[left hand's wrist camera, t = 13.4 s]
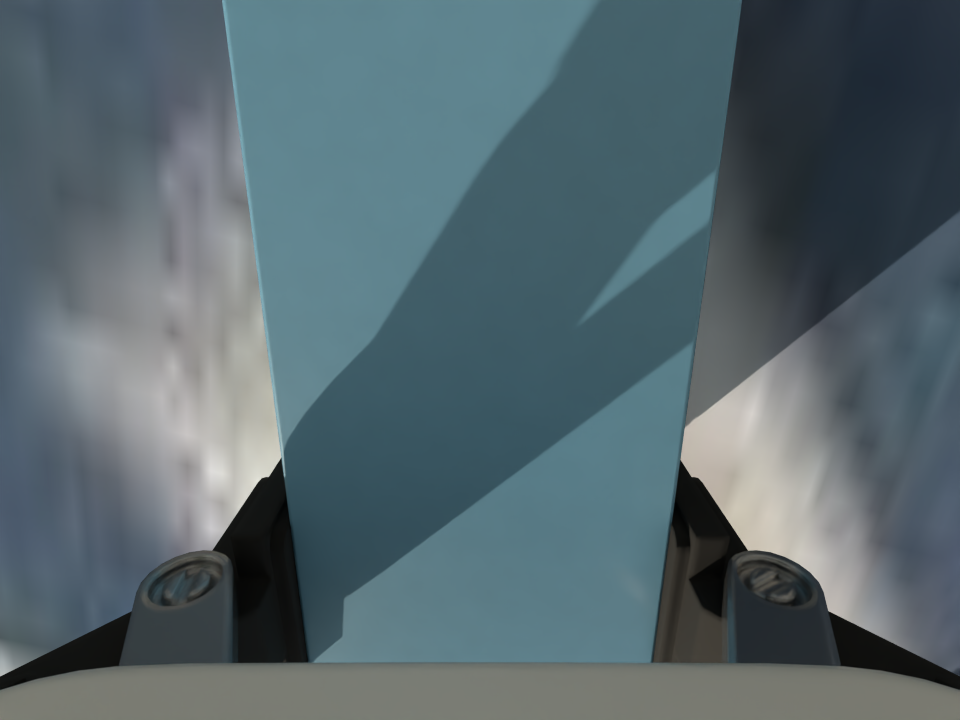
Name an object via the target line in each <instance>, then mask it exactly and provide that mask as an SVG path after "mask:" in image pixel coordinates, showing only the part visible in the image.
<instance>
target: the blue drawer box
mask: <svg viewBox="0 0 960 720" xmlns="http://www.w3.org/2000/svg"><path fill="white" fill-rule="evenodd" d="M222 2H223V10H224V18H225V25H226V33H227V41H228V49H229V56H230V64H231V72H232V79H233V87H234V95H235V102H236V110H237V118H238V126H239V133H240V141H241V149H242V156H243V164H244V172H245V180H246V187H247V195H248V203H249V210H250V218H251V226H252V234H253V241H254V249H255V257H256V264H257V272H258V280H259V287H260V295H261V303H262V311H263V318H264V326H265V334H266V341H267V349H268V357H269V365H270V372H271V380H272V388H273V395H274V403H275V411H276V418H277V426H278V434H279V442H280V449H281V457H282V465H283V472H284V480H285V488H286V496H287V503H288V511H289V519H290V526H291V534H292V542H293V549H294V557H295V565H296V573H297V580H298V588H299V596H300V603H301V611H302V619H303V626H304V634H305V642H306V650H307V657H308V663H342V662H618V663H653V658H654V650H655V643H656V635H657V628H658V620H659V613H660V605H661V598H662V590H663V583H664V575H665V568H666V560H667V553H668V545H669V538H670V530H671V523H672V517H673V510H674V502H675V495H676V488H677V480H678V473H679V465H680V458H681V450H682V443H683V436H684V428H685V421H686V413H687V406H688V398H689V391H690V384H691V376H692V369H693V361H694V354H695V346H696V339H697V332H698V324H699V317H700V309H701V302H702V295H703V287H704V280H705V272H706V265H707V257H708V250H709V243H710V235H711V228H712V220H713V213H714V205H715V198H716V191H717V183H718V176H719V168H720V161H721V153H722V146H723V139H724V131H725V124H726V116H727V109H728V101H729V94H730V87H731V79H732V72H733V64H734V57H735V49H736V42H737V35H738V27H739V20H740V12H741V5H742V0H222Z"/></svg>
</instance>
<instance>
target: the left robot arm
mask: <svg viewBox="0 0 960 720" xmlns="http://www.w3.org/2000/svg"><path fill="white" fill-rule="evenodd" d="M0 720H960V676H958V675H956V674H954V673H952V672H950V671H948V670H946V669H944V668H942V667H940V666H938V665H935V664H933V663H931V662H929V661H927V660H925V659H923V658H921V657H919V656H917V655H915V654H913V653H911V652H909V651H907V650H905V649H903V648H901V647H899V646H897V645H895V644H893V643H891V642H889V641H887V640H885V639H883V638H881V637H879V636H877V635H875V634H873V633H871V632H869V631H867V630H865V629H863V628H861V627H859V626H857V625H855V624H853V623H851V622H849V621H847V620H845V619H843V618H841V617H839V616H837V615H835V614H833V613H831V612H829V611H828V609H827V605H826V600H825V596H824V592H823V590H822V588H821V586H820V584H819V582H818V581H817V580H816V579H815V578H814V576H813V575H812V574H811V573H810V572H809V571H807V570H806V569H804V568H803V567H802V566H800V565H799V564H797V563H795V562H794V561H792V560H790V559H788V558H786V557H783V556H780V555H777V554H774V553H771V552H764V551H757V550H755V551H748V550H747V549H746V547H745V546H744V544H743V543H742V541H741V540H740V538H739V537H738V535H737V534H736V532H735V531H734V529H733V528H732V526H731V525H730V523H729V522H728V520H727V519H726V517H725V516H724V514H723V513H722V511H721V510H720V508H719V507H718V505H717V504H716V502H715V501H714V499H713V498H712V496H711V495H710V493H709V492H708V490H707V489H706V487H705V486H704V484H703V483H702V482H701V481H700V480H699V478H695V477H691V476H690V474H689V472H688V471H687V469H686V468H685V466H684V465H683V463H682V462H681V460H680V465H679V473H678V480H677V488H676V495H675V502H674V510H673V517H672V523H671V530H670V538H669V545H668V553H667V560H666V568H665V575H664V583H663V590H662V598H661V605H660V613H659V620H658V628H657V635H656V643H655V650H654V658H653V663H618V662H342V663H308V657H307V650H306V642H305V634H304V626H303V619H302V611H301V603H300V596H299V588H298V580H297V573H296V565H295V557H294V549H293V542H292V534H291V526H290V519H289V511H288V503H287V496H286V488H285V480H284V472H283V465H282V458H281V459H280V461H279V462H278V464H277V465H276V467H275V469H274V470H273V472H272V473H271V475H270V476H269V477H265V478H262V479H261V480H260V481H259V482H258V484H257V485H256V486H255V488H254V489H253V491H252V492H251V494H250V495H249V497H248V498H247V500H246V501H245V503H244V504H243V506H242V507H241V509H240V510H239V512H238V513H237V515H236V516H235V518H234V519H233V521H232V522H231V524H230V525H229V527H228V528H227V530H226V531H225V533H224V534H223V536H222V537H221V539H220V540H219V542H218V543H217V545H216V546H215V548H214V549H213V551H205V550H203V551H196V552H189V553H186V554H183V555H180V556H177V557H174V558H172V559H170V560H168V561H166V562H165V563H163V564H161V565H160V566H158V567H157V568H156V569H154V570H153V571H151V572H150V573H149V574H148V575H147V576H146V578H145V579H144V580H143V581H142V582H141V584H140V586H139V588H138V590H137V592H136V596H135V600H134V605H133V609H132V612H130V613H128V614H126V615H123V616H121V617H119V618H117V619H115V620H113V621H111V622H109V623H107V624H105V625H103V626H101V627H99V628H97V629H95V630H93V631H91V632H89V633H87V634H85V635H83V636H81V637H79V638H77V639H75V640H73V641H71V642H69V643H67V644H65V645H63V646H61V647H59V648H57V649H55V650H53V651H51V652H49V653H47V654H45V655H43V656H41V657H39V658H37V659H35V660H33V661H31V662H29V663H27V664H25V665H23V666H21V667H19V668H17V669H15V670H13V671H11V672H9V673H7V674H5V675H3V676H1V677H0Z"/></svg>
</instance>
